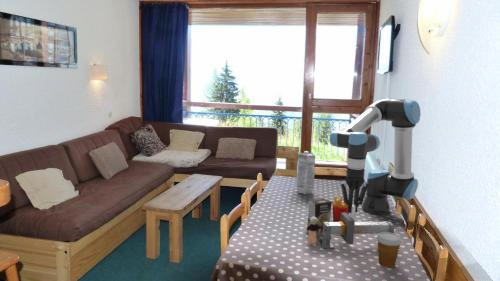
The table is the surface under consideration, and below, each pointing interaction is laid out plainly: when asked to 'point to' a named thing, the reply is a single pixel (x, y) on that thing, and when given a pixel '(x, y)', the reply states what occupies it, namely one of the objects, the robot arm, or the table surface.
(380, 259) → the disposable coffee cup
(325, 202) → the coffee box
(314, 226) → the grandmother figurine
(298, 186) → the juice carton
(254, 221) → the table surface
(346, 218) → the grey flat piece
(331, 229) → the grey crossbar beam
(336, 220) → the french fries
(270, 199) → the table surface
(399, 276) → the table surface
